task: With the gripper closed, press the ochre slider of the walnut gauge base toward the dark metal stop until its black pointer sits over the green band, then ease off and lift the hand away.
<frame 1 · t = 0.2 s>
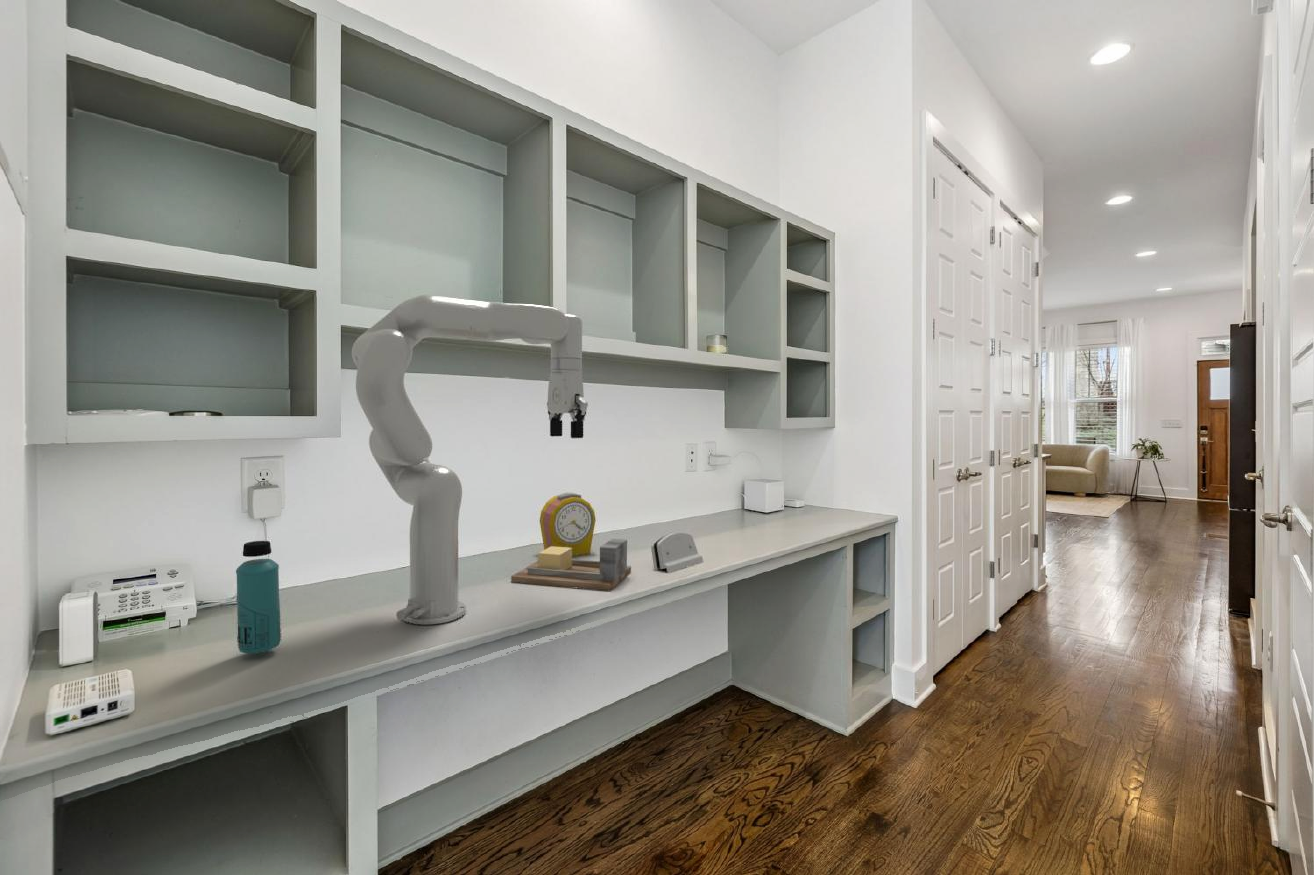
hand: (566, 437, 146), 37 cm above the worktop, tool pointing down, fingers open, 9 cm apart
hinge: (675, 566, 169), on the worktop
beverage bottle: (259, 656, 104), on the worktop
alarm clock: (567, 553, 180), on the worktop
gauge base: (573, 576, 155), on the worktop
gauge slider: (558, 557, 159), point 4 cm above the worktop, slide at 0.0 cm
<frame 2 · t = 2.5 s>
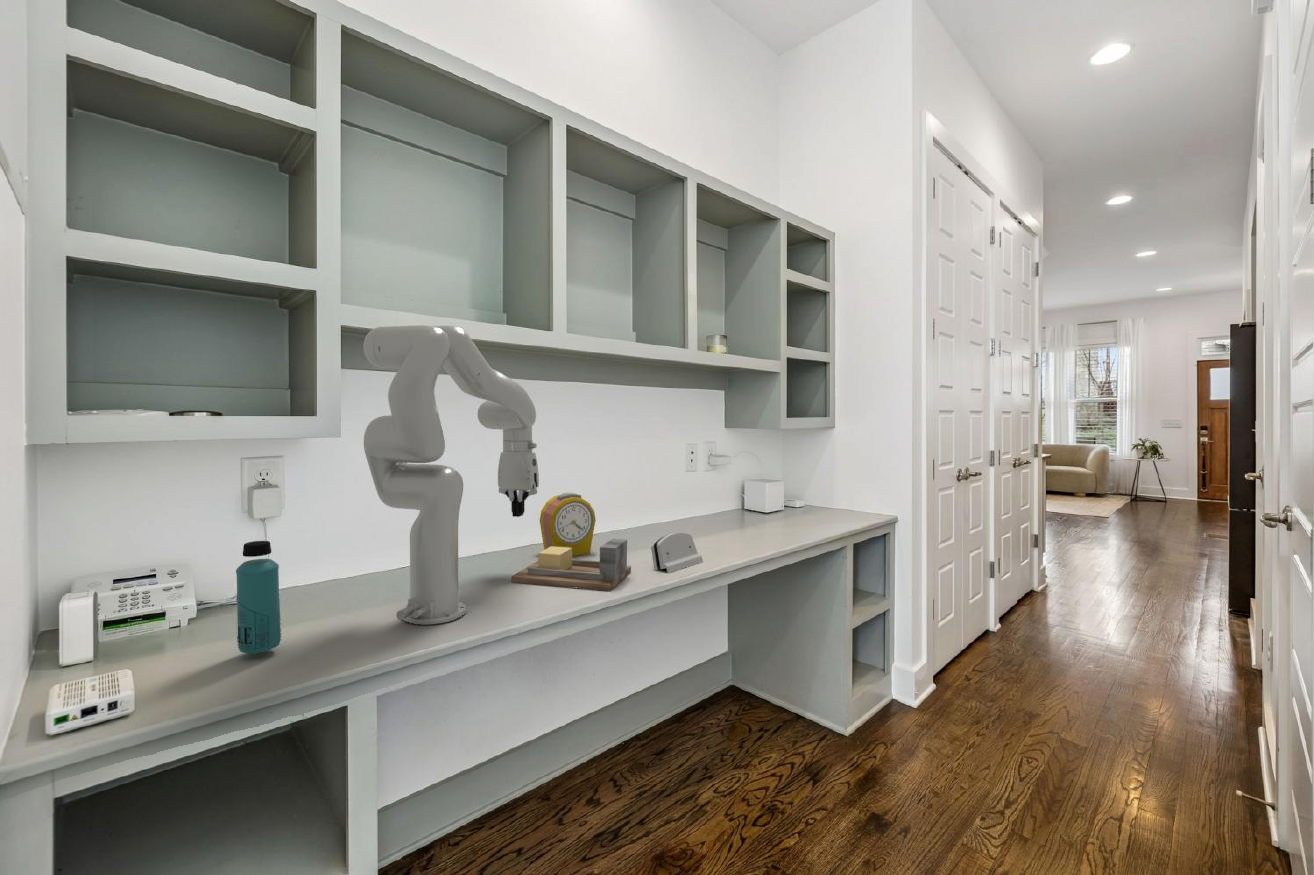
hand: (518, 515, 159), 15 cm above the worktop, tool pointing down, fingers closed
nothing on the worktop moved.
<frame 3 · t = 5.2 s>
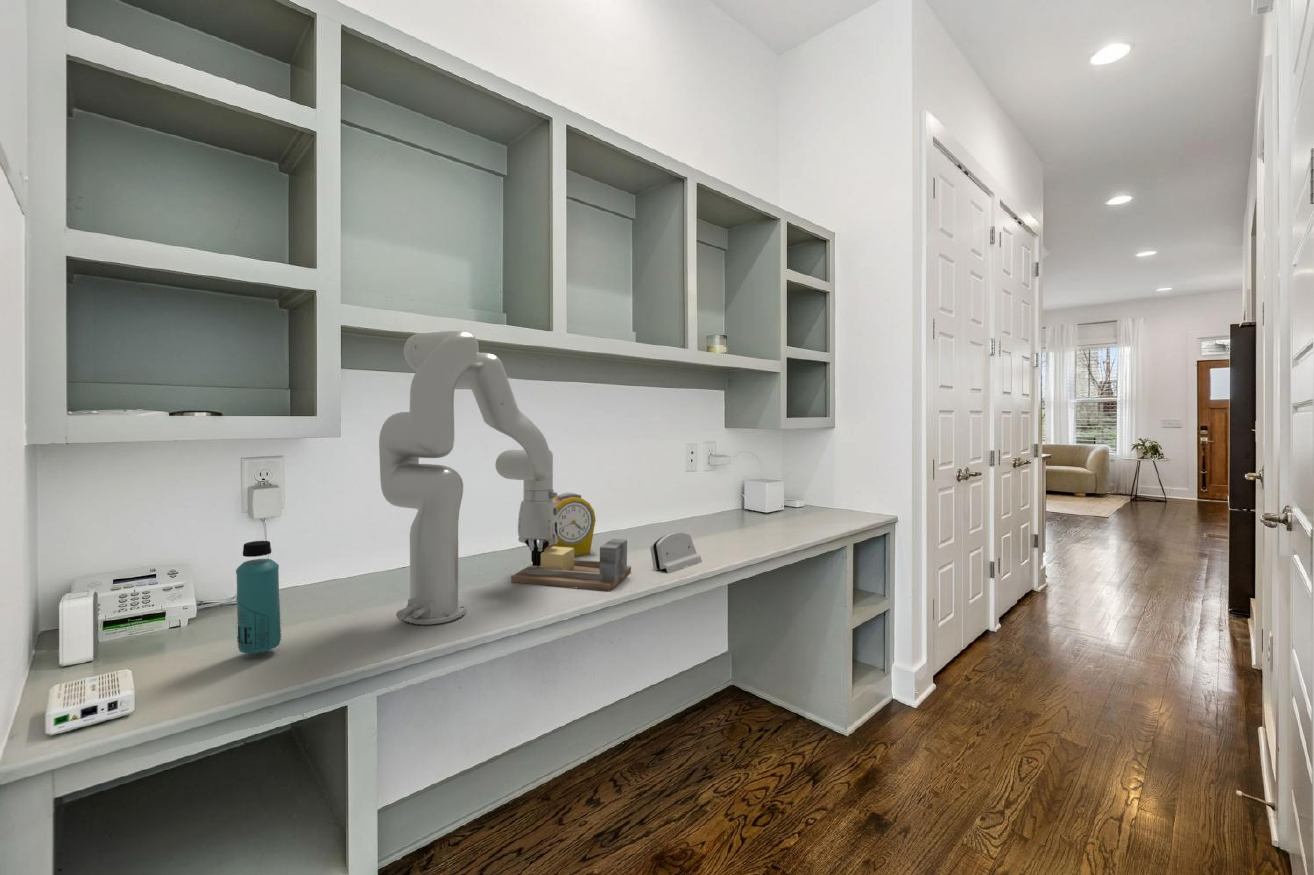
hand: (537, 564, 158), 2 cm above the worktop, tool pointing down, fingers closed
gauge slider: (561, 557, 158), point 4 cm above the worktop, slide at 0.7 cm, touching gripper
everything else where it was.
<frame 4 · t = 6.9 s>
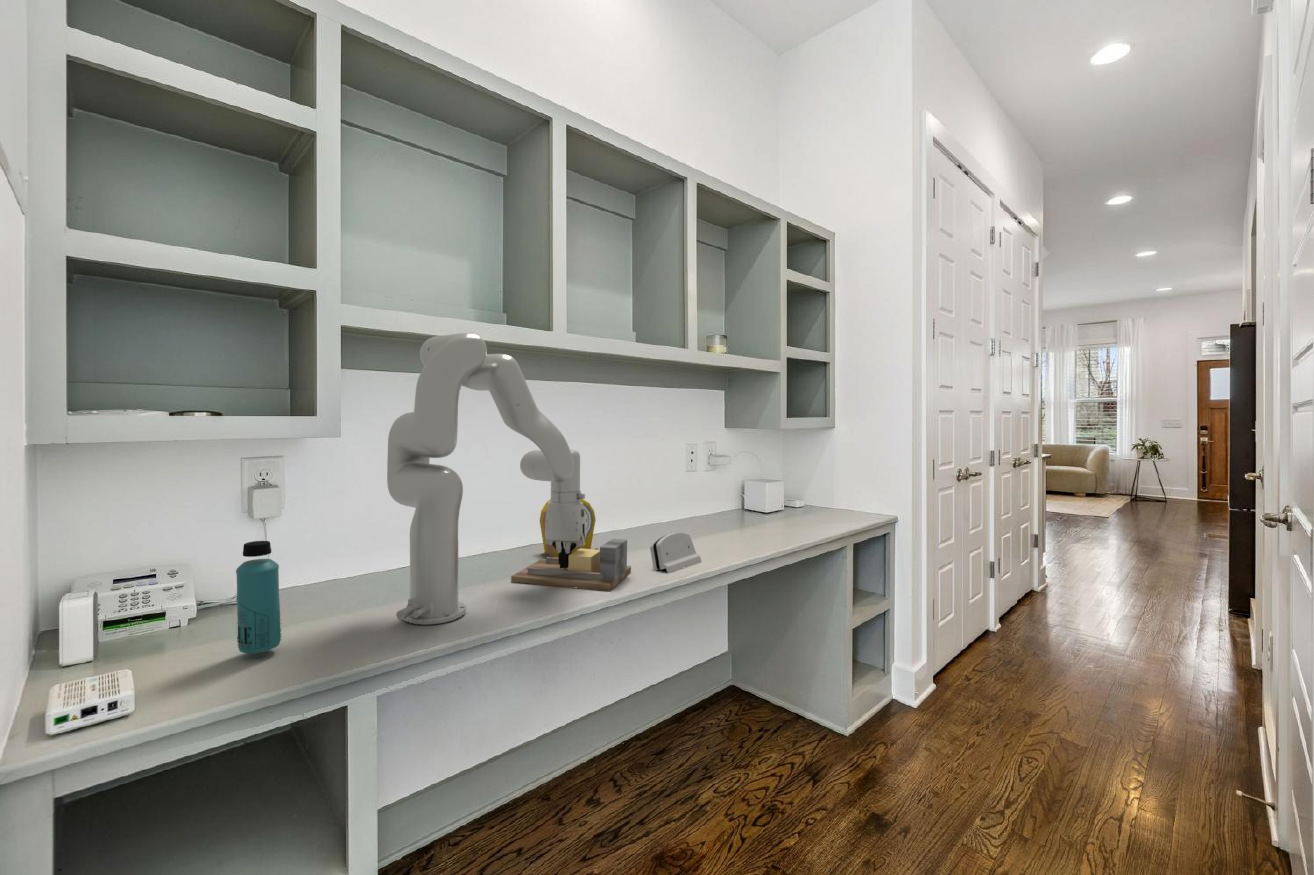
hand: (564, 567, 156), 2 cm above the worktop, tool pointing down, fingers closed
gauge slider: (588, 560, 157), point 4 cm above the worktop, slide at 8.3 cm, touching gripper
everything else where it was.
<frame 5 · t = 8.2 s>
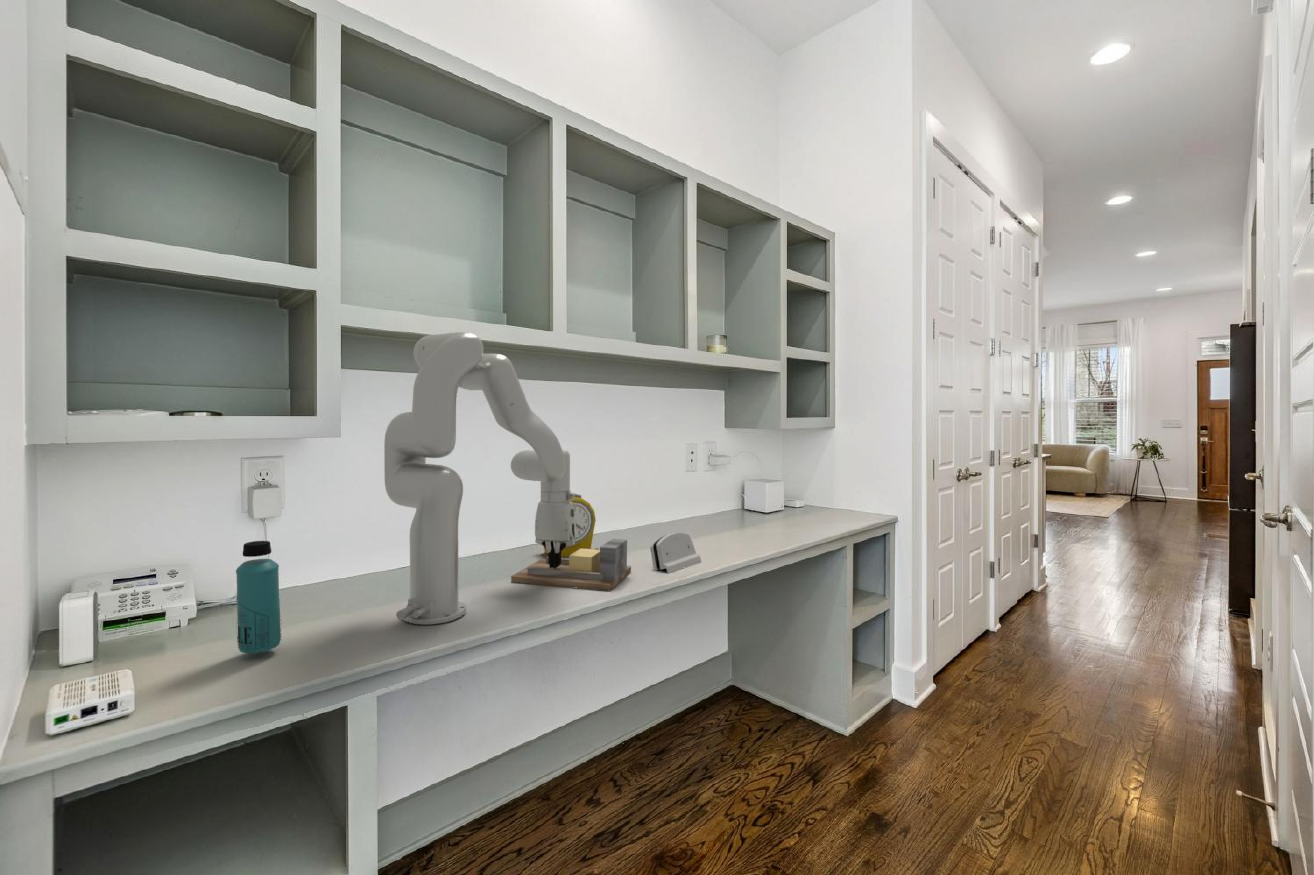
hand: (554, 566, 156), 2 cm above the worktop, tool pointing down, fingers closed
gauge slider: (588, 560, 157), point 4 cm above the worktop, slide at 8.5 cm
everything else where it was.
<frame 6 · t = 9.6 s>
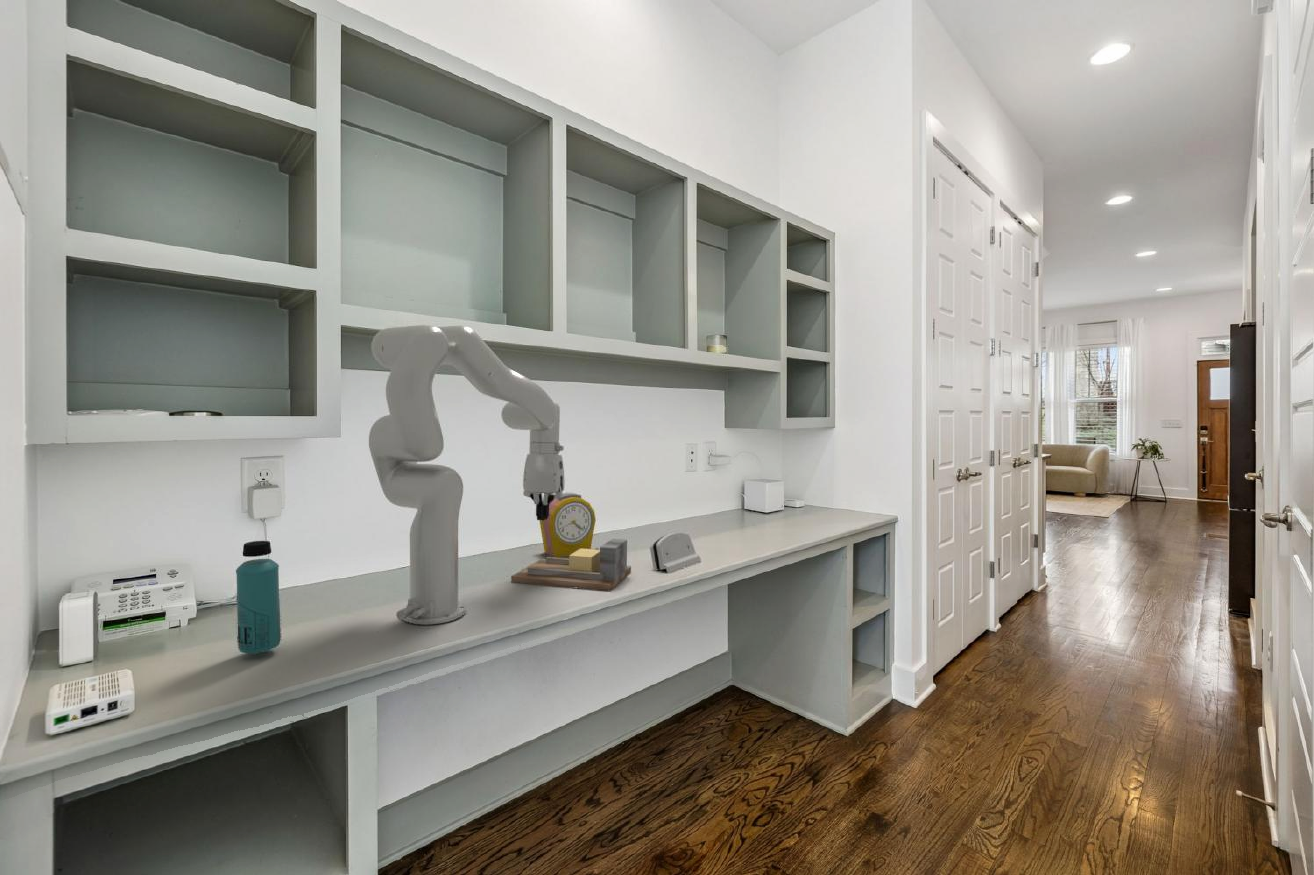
hand: (542, 519, 156), 15 cm above the worktop, tool pointing down, fingers closed
nothing on the worktop moved.
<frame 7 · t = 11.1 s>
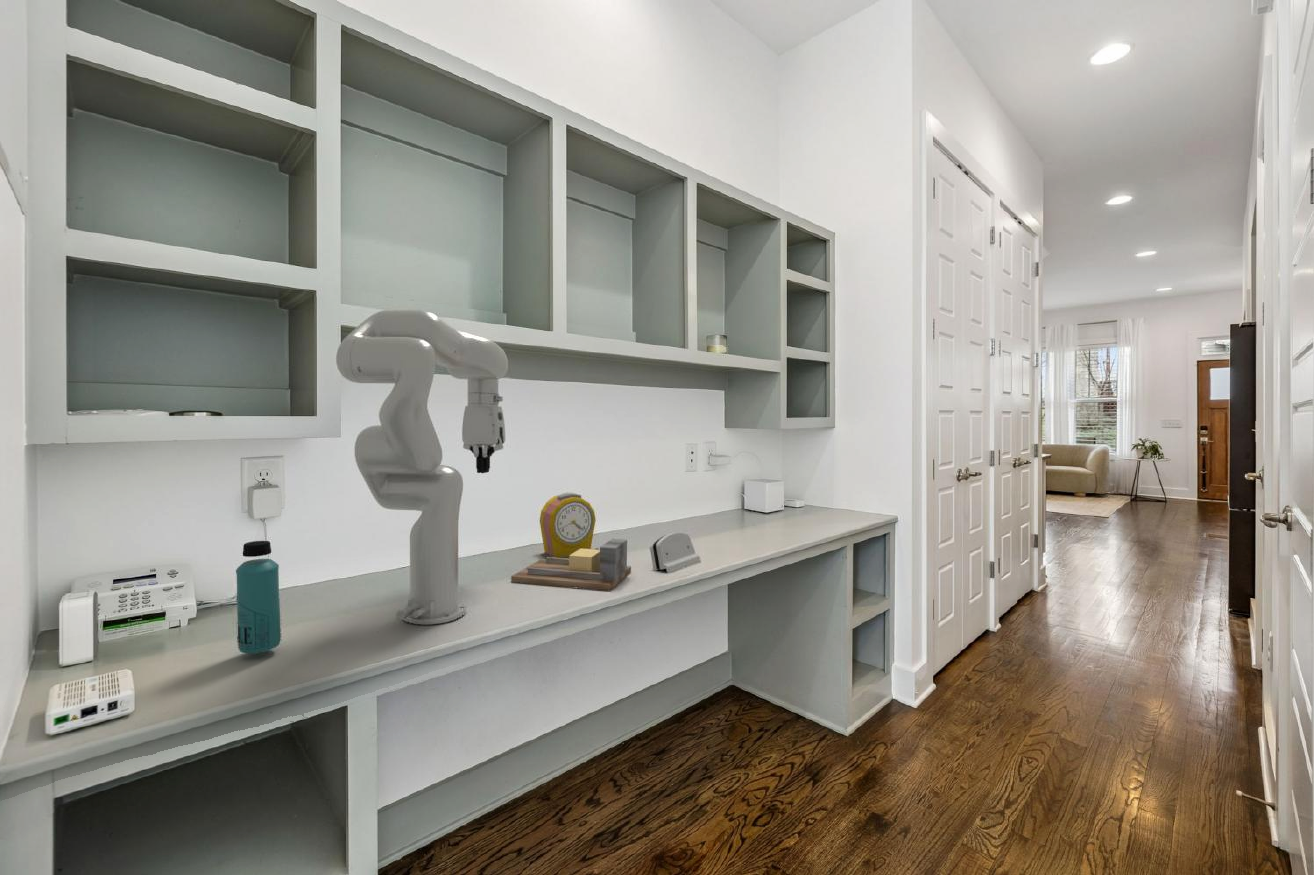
hand: (483, 472, 153), 27 cm above the worktop, tool pointing down, fingers closed
nothing on the worktop moved.
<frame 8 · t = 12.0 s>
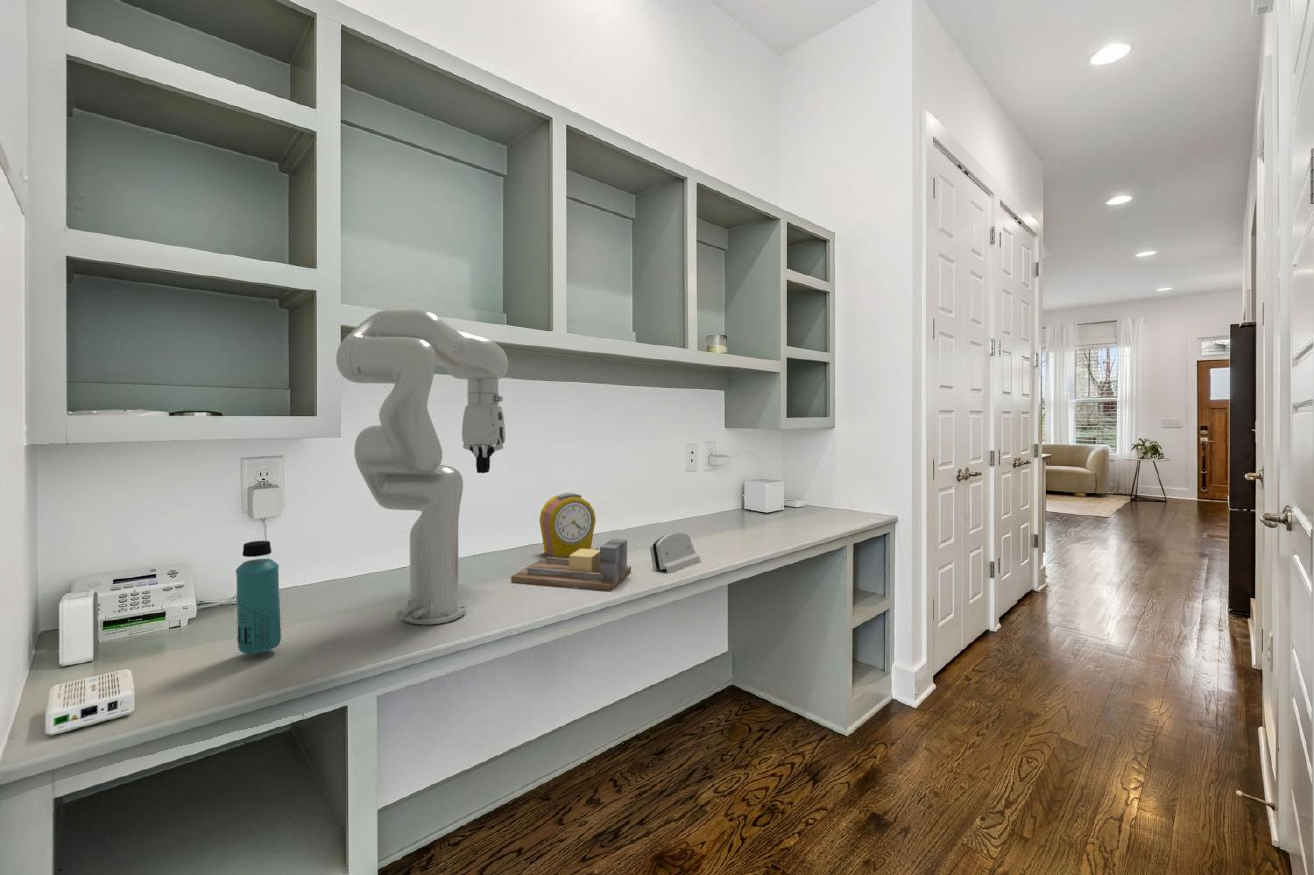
hand: (483, 472, 153), 27 cm above the worktop, tool pointing down, fingers closed
nothing on the worktop moved.
at the end: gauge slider slide at 8.5 cm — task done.
